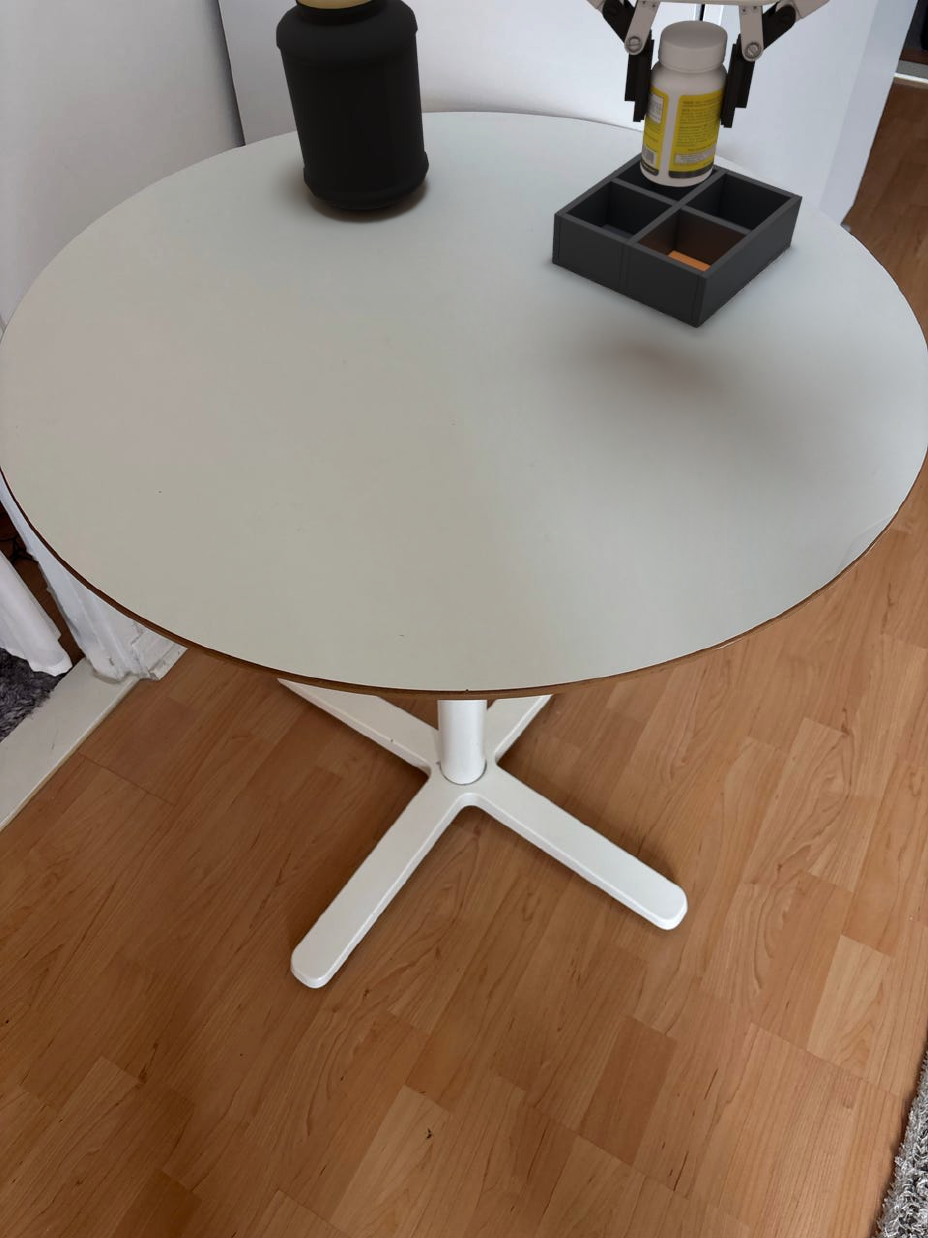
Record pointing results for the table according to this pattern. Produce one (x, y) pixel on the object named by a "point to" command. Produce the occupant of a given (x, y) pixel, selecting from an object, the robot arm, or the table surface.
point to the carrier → (675, 237)
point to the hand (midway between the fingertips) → (683, 111)
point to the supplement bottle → (684, 104)
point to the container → (355, 99)
